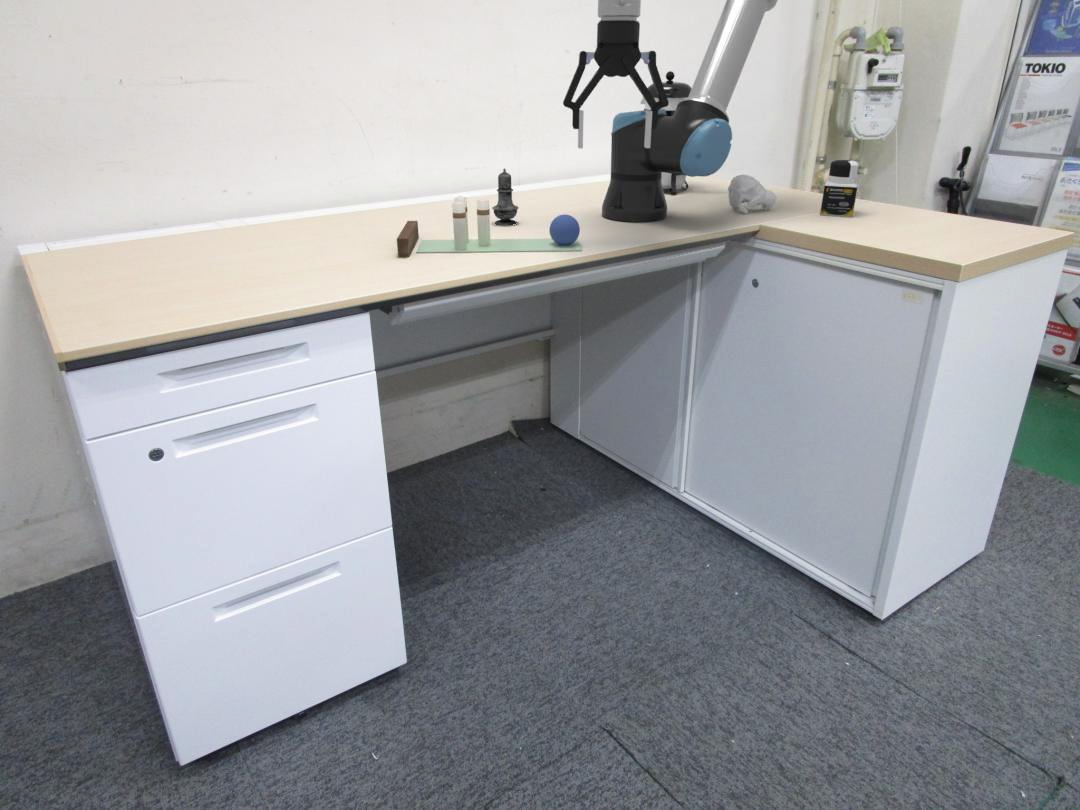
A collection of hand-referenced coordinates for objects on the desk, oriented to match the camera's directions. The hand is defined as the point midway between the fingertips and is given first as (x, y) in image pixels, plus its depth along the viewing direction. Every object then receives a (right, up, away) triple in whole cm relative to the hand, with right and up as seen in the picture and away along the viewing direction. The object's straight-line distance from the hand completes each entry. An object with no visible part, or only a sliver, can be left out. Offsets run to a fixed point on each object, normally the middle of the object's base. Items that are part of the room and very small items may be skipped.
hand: (613, 147), depth 142 cm
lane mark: (-22, -17, +7) cm, 29 cm away
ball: (-9, -14, +6) cm, 18 cm away
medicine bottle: (+56, -4, +35) cm, 66 cm away
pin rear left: (-30, -18, +5) cm, 35 cm away
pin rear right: (-30, -16, +10) cm, 35 cm away
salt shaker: (-22, -8, +26) cm, 35 cm away
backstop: (-40, -17, +7) cm, 44 cm away
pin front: (-25, -17, +7) cm, 31 cm away
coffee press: (+21, +10, +64) cm, 68 cm away
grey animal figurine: (+37, -3, +38) cm, 53 cm away
